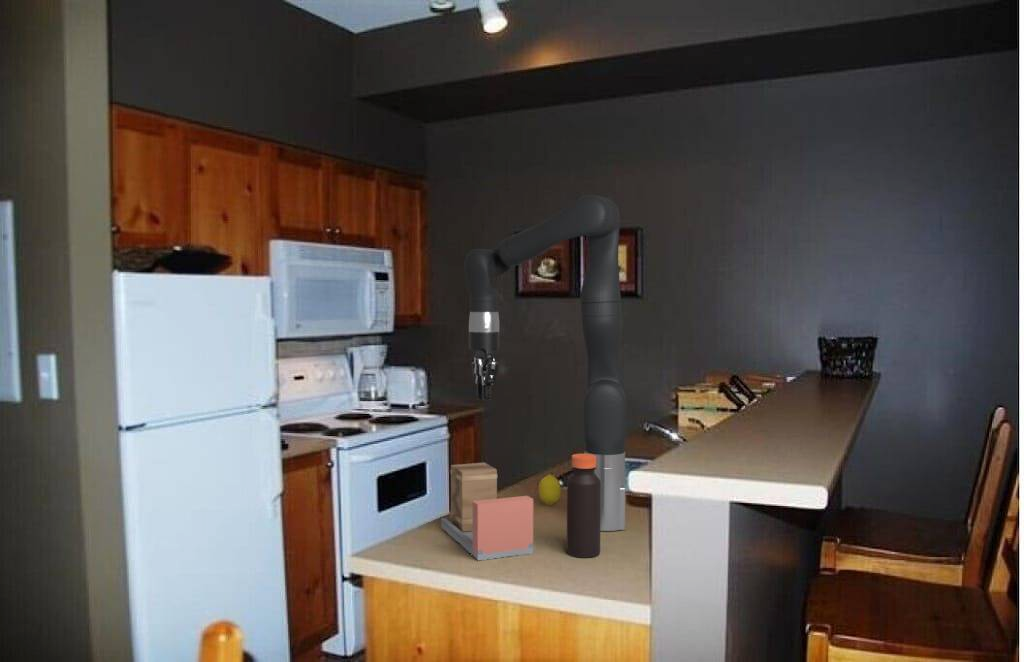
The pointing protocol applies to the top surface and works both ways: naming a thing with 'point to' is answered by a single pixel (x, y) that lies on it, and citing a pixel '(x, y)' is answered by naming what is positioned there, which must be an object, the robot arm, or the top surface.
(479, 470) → the crate
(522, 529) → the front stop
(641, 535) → the top surface
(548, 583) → the top surface
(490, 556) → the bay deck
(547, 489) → the lemon
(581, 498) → the bottle
